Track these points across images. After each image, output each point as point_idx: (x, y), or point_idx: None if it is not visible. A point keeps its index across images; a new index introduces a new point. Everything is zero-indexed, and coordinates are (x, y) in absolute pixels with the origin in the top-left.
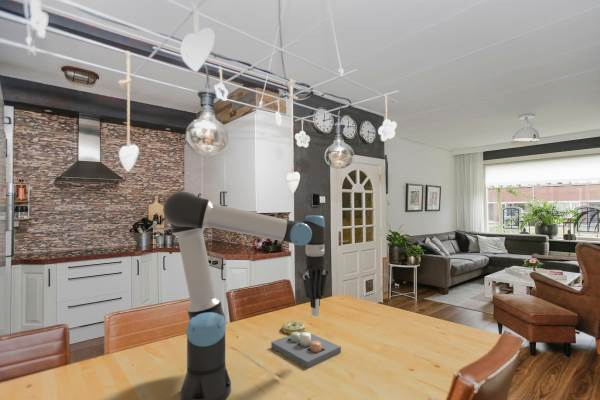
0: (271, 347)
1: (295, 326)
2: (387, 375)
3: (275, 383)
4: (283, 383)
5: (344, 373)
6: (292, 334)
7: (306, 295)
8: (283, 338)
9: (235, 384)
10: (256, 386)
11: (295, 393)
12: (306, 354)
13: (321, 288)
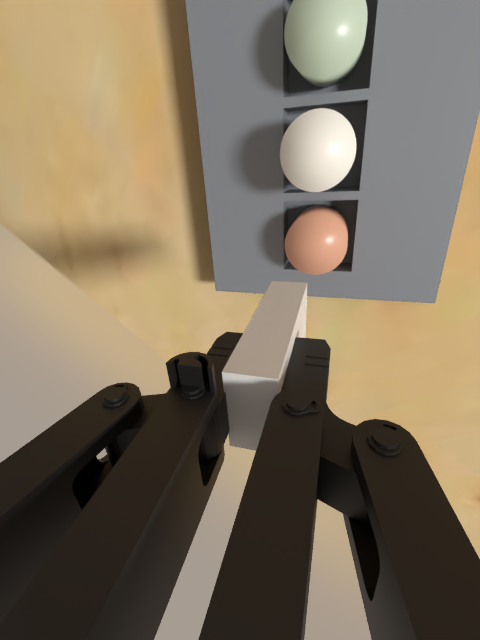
0: None
1: None
2: None
3: (109, 262)
4: (128, 278)
5: None
6: (298, 22)
7: (83, 413)
8: None
9: (9, 183)
10: (60, 236)
11: (136, 331)
12: (249, 243)
13: (376, 617)
